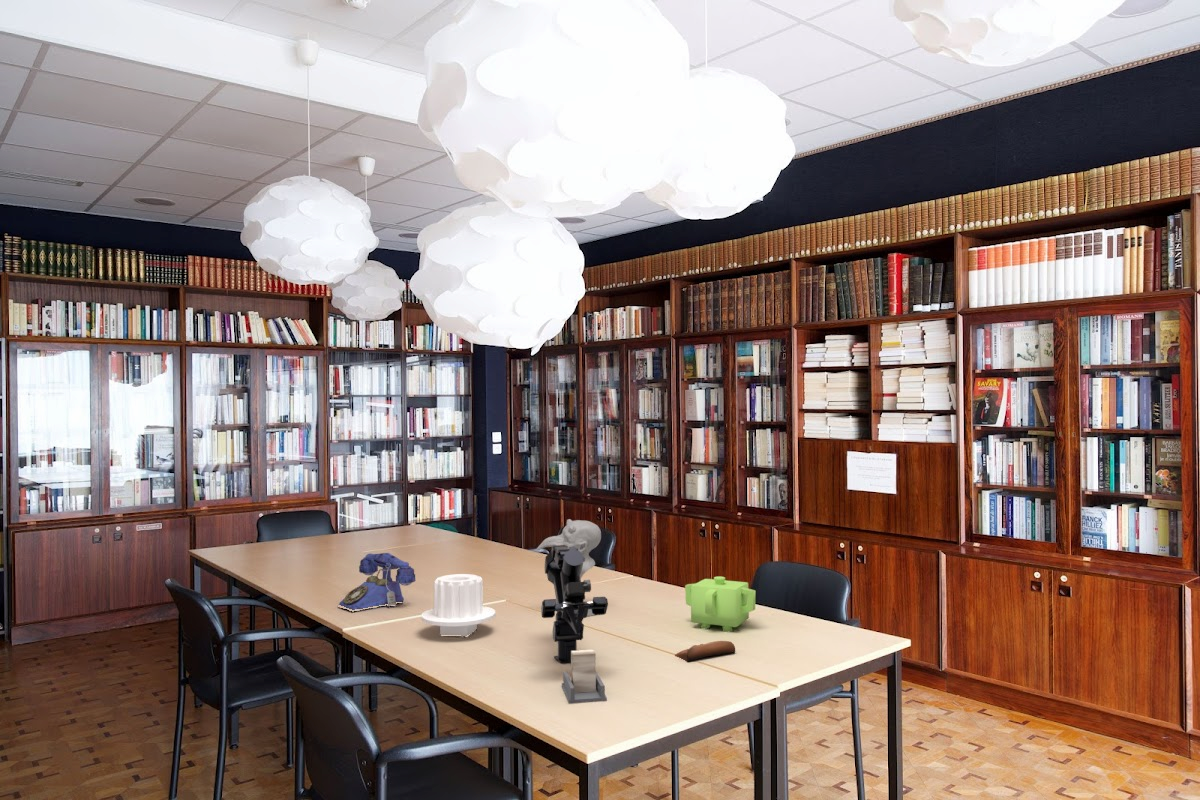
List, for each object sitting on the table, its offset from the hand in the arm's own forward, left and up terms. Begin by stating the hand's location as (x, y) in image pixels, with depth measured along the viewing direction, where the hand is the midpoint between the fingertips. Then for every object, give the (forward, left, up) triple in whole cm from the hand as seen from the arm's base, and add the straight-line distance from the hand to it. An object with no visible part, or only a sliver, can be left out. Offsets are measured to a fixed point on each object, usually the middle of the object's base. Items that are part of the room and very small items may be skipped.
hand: (577, 633), depth 233 cm
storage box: (-34, +68, -14) cm, 77 cm away
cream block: (+9, -2, -13) cm, 16 cm away
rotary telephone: (-125, -37, -14) cm, 131 cm away
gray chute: (+9, -2, -13) cm, 17 cm away
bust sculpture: (-74, +29, -14) cm, 81 cm away
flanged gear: (-66, -17, -14) cm, 69 cm away
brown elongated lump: (-7, +45, -14) cm, 48 cm away
